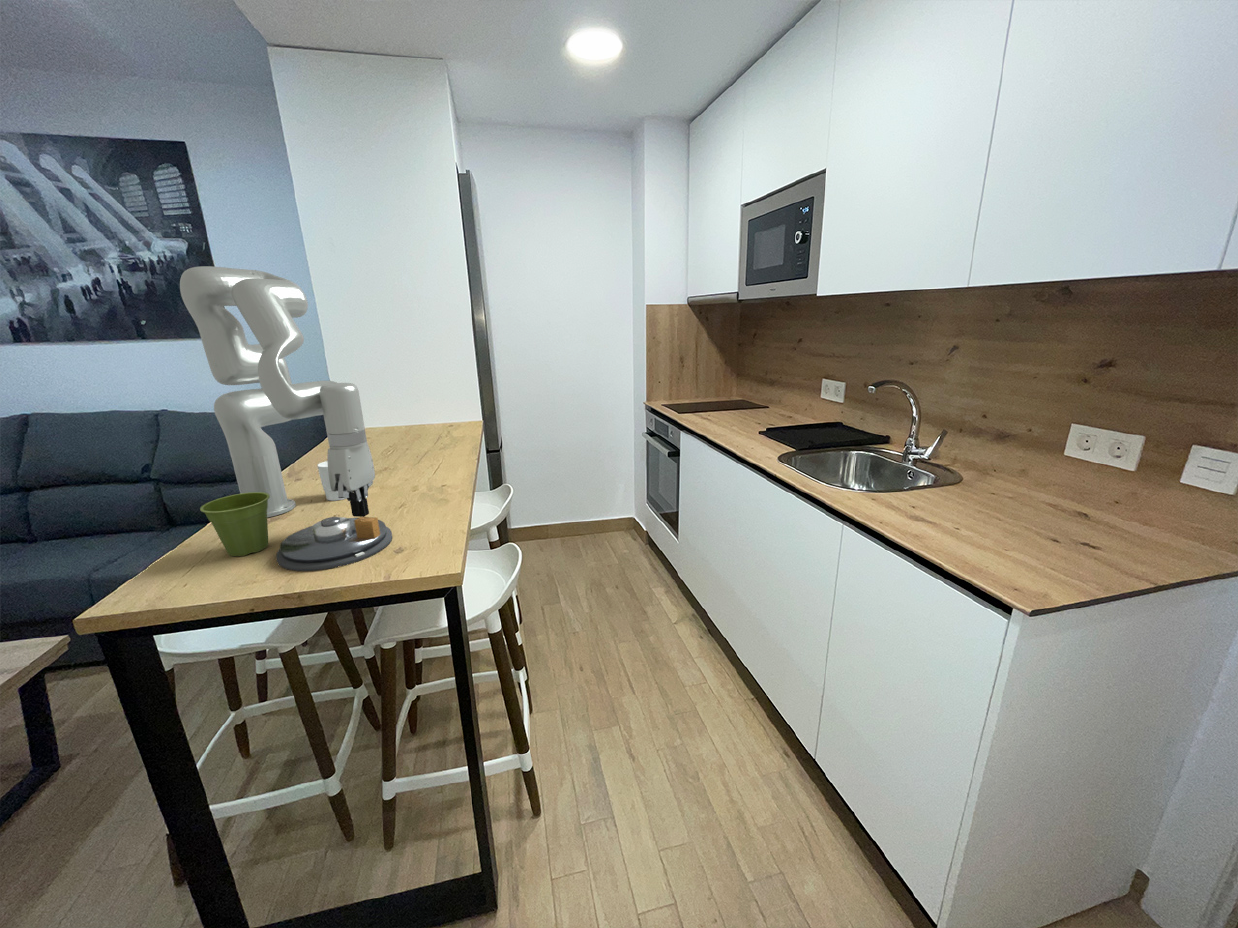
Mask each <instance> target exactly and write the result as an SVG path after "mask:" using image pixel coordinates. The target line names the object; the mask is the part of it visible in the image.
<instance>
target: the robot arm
mask: <svg viewBox="0 0 1238 928" xmlns="http://www.w3.org/2000/svg"><path fill="white" fill-rule="evenodd" d="M179 280H180V281H179V290H180V296H181V299H182V301H183V303H184V306H185V307H186V309H187V312H188V313H189V314H190V316H191V317H192V320H193V321H194V323H195V326H196V327H197V330H198V332H199V336H200V339H201V343H202V346H203V350H204V353H205V356H206V359H207V363H208V366H209V369H210V371H211V375H212V377H213V378H214V380H215V381H216V382H217V383H219V384H221V385H225V386H241V385H251V384H253V385H254V384H259V385H260V388H250V389H244V390H243V389H242V390H234V391H229V392H226V393H223V394H222V395H220V396H219V397H217V398H216V400H215V401H214V404H213V412H214V415H215V417H216V420H217V421H218V423H219V425H220V427H221V429H222V432H223V434H224V437H225V439H226V443H227V447H228V451H229V455H230V458H231V460H232V461H231V463H232V465H233V470H234V474H235V477H236V481H237V486H238V490H239V494H241V493H250V492H264V493H268V494H269V495H270V497H269V499H268V508H267V518H271V517H275V516H279V515H282V514H285V513H288V512H290V511H291V510H293V509H294V508H295V507H296V505H297V504H296V501H295V500H294V499H291V498H290V499H289V498H288V497H287V496H288V495H287V491H286V487H285V483H284V478H283V473H282V469H281V465H280V460H279V456H278V455H279V454H278V450H277V446H276V444H275V441H274V440H273V438H272V437H271V436H270V435H269V434H267V432H265V431H264V430H263V429H262V428H263V427H267V426H271V425H278V424H283V423H286V422H289V421H293V420H301V419H307V418H311V417H316V416H323V419H324V425H325V429H326V430H325V431H326V435H327V441H328V447H329V448H328V449H327V459H326V461H328V474H329V481H330V487H331V490H332V491H338V497H339V498H347V501H348V502H349V504H350V509H351V515H352V517H353V518H359V517H367V515H369V514H370V510H369V504H368V497H369V491H368V490H369V488H370V487H371V486H372V485H373V484H374V481H375V479H376V478H375V477H376V473H375V467H374V465H375V464H374V460H373V456H372V453H371V450H370V446H369V444H368V440H367V434H366V428H365V427H366V426H365V422H364V416H363V410H362V403H361V398H360V392H359V388H358V386H357V385H356V384H355V383H352V382H336V381H333V380H315V381H307V382H300V383H299V382H298V383H292V379H291V375H290V374H291V373H290V371H289V367H288V363H287V360H286V359H285V357H287V356H289V355H291V354H293V353H294V352H297V350H299V349H300V347H302V345H303V344H304V340H305V338H304V335H303V333H302V332H301V329H300V328H299V327H298V325H297V323H296V322H295V320H294V319H295V318H297V319H298V318H301V317H303V316H304V315H306V313H307V312H308V308H309V307H308V306H309V305H308V303H309V302H308V299H307V296H306V294H305V292H304V291H303V289H302V288H301V287H300V286H299V285H298V284H297V283H295V282H294V281H292V280H289V279H286V278H285V277H284V278H283V277H280V276H278V275H274V274H272V273H269V272H265V271H262V270H256V269H255V270H254V269H244V268H234V267H233V268H231V267H225V266H212V265H211V266H209V265H208V266H207V265H206V266H203V265H201V266H193V267H190V268H188V269H186V270H184V271H183V272H182V274H181V277H180V279H179ZM225 307H236V308H237V309H238V311H239V313H240V315H242V316H241V317H243V319H244V321H245V322H246V324H247V325H248V327H249V329H250V330H251V332H252V334H253V335H254V337H255V339H256V340H257V342H258V344H249V343H248V341H247V337H246V333H245V331H244V328H243V324H241V322H240V321H239V320H238V318H236V317H235V315H233V314H232V313H231V312H230V311H229V310H228V309H226V308H225Z"/></svg>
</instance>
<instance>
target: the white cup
mask: <svg viewBox="0 0 1238 928" xmlns="http://www.w3.org/2000/svg"><path fill="white" fill-rule="evenodd" d="M316 466H317V470H318V475H319V478H320V482H321V485H322V488H323V491H324V494H325V497H326V499H325V500H327V501H330V502H331V501H333V502H334V501H341V500H342V501H343V500H346V499H347V498H339V497H338V491H332V490H331V487H330V481H329V474H328V461H327V460H326V461H323V462H319V463H318V464H317V465H316Z"/></svg>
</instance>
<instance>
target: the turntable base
mask: <svg viewBox="0 0 1238 928" xmlns="http://www.w3.org/2000/svg"><path fill="white" fill-rule="evenodd" d="M386 531H387V534H386V536H385V538H384V539H383V540H382V541H381V542H380V543H378V544H377V545H375V546H373V547H371V548H369V549H367V550H365V551H363V552H360V553H357V554H354V555H351V556H348V557H344V558H340V559H336V560H330V561H324V562H314V563H300V562H292V561H289V560H286V559H285V558H283V557H282V554H281V550H280V548H279V549H278V550H277V552H276V554H275V557H276V563H277V562H278V563H277V565H278V564H279V565H278V566H279V567H281V568H283V569H286V570H287V571H288V570H290V571H294V572H296V571H297V572H314V571H323V570H331V569H335V567H336V568H339V567H338V566H341V567H344V566H343V565H345V566H348V565H351V563H352V564H355V563H358V562H362V561H363V560H365V559H368V558H371V557H372V556H375V555H377V554H378V553H380V552H381V551H383V550H385V549H386V548H387V547H389V545H390V544H391V543H392V540H393V533H392V529H391V528H389V526H386ZM354 562H355V563H354ZM347 564H348V565H347Z"/></svg>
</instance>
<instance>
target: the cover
mask: <svg viewBox="0 0 1238 928" xmlns="http://www.w3.org/2000/svg"><path fill="white" fill-rule="evenodd" d="M348 518H349V517H344V516H342V517H341V516H340V517H339V516H330V517H326V518H323V519H322V520H320V521H317V522H316V523H314V524H312V525H311V526H312V530H313V535H314V539H315V542H317V543H332V542H337V541H340V540H343V539H345V538H347V537H349V536H350V535H351V534H352V531H351V526H350V520H349V519H348Z"/></svg>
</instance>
